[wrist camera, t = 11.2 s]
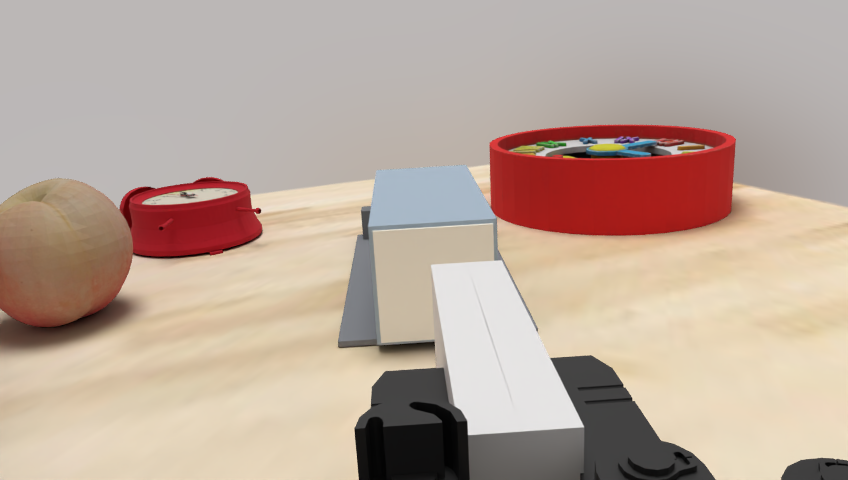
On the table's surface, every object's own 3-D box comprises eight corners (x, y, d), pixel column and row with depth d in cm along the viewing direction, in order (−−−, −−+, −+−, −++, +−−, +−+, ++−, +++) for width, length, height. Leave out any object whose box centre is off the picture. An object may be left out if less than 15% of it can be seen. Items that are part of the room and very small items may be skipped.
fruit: (-28, 324, 41) (-62, 190, 38) (108, 285, 46) (85, 166, 44) (20, 359, 35) (-16, 206, 33) (167, 311, 41) (144, 177, 39)
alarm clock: (137, 223, 48) (98, 153, 59) (148, 301, 51) (108, 220, 62) (281, 199, 53) (219, 138, 64) (283, 270, 56) (224, 201, 67)
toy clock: (444, 142, 62) (607, 119, 72) (447, 206, 64) (606, 175, 74) (607, 170, 46) (790, 136, 55) (606, 255, 47) (784, 207, 57)
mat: (537, 333, 35) (537, 286, 34) (338, 347, 35) (333, 300, 34) (486, 230, 54) (485, 199, 53) (358, 238, 54) (355, 207, 53)
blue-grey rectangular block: (497, 219, 32) (465, 164, 47) (367, 227, 32) (376, 170, 46) (500, 339, 34) (469, 250, 48) (377, 347, 34) (382, 255, 48)
